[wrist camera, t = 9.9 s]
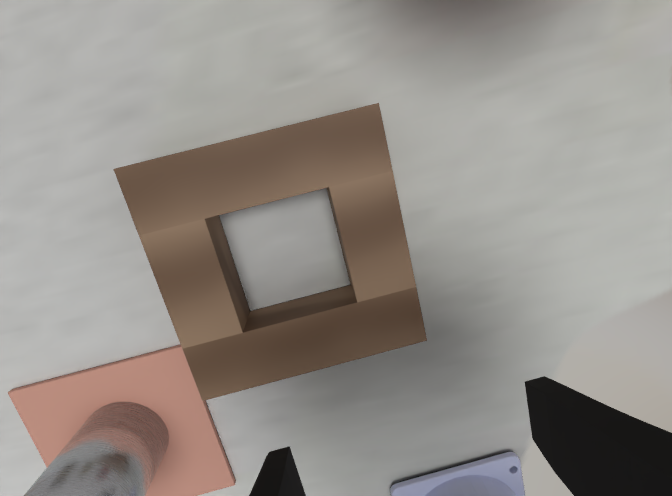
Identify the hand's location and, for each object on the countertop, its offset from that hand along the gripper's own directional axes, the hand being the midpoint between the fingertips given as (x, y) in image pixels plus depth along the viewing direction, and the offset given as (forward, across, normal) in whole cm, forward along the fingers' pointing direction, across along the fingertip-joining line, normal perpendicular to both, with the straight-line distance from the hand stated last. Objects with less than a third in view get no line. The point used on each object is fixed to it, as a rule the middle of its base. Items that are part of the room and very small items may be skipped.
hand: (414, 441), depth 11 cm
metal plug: (+9, +14, +3) cm, 17 cm away
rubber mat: (+9, +14, +4) cm, 17 cm away
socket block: (+9, +3, -4) cm, 11 cm away
